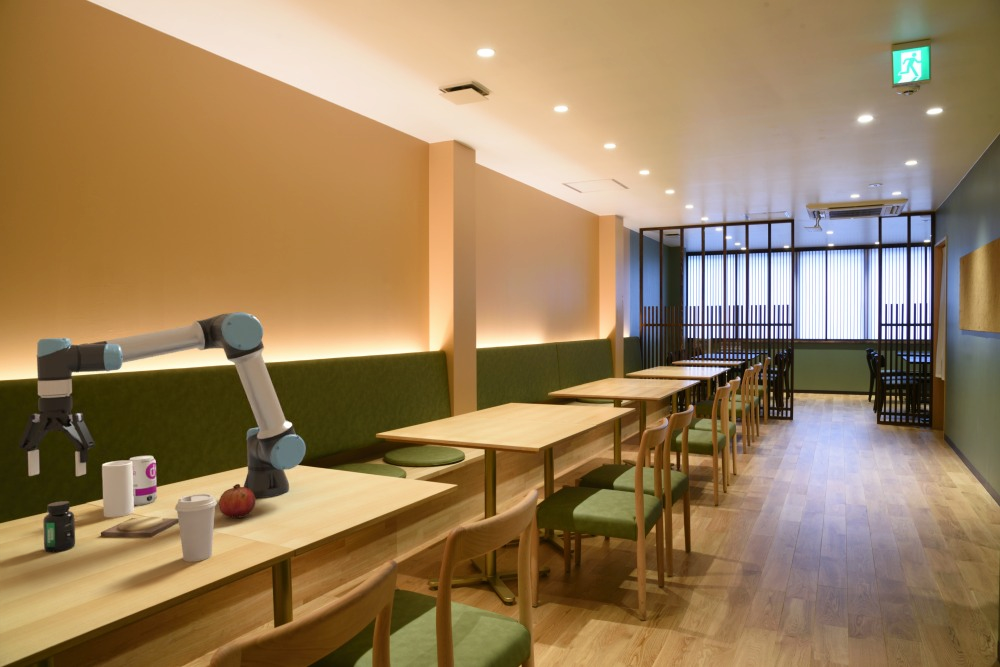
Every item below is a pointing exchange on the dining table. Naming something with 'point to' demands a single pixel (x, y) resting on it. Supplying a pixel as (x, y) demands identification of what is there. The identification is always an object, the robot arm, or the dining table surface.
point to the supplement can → (144, 479)
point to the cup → (118, 488)
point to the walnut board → (140, 527)
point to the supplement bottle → (59, 527)
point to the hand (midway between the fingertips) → (57, 475)
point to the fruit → (237, 502)
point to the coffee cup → (196, 525)
